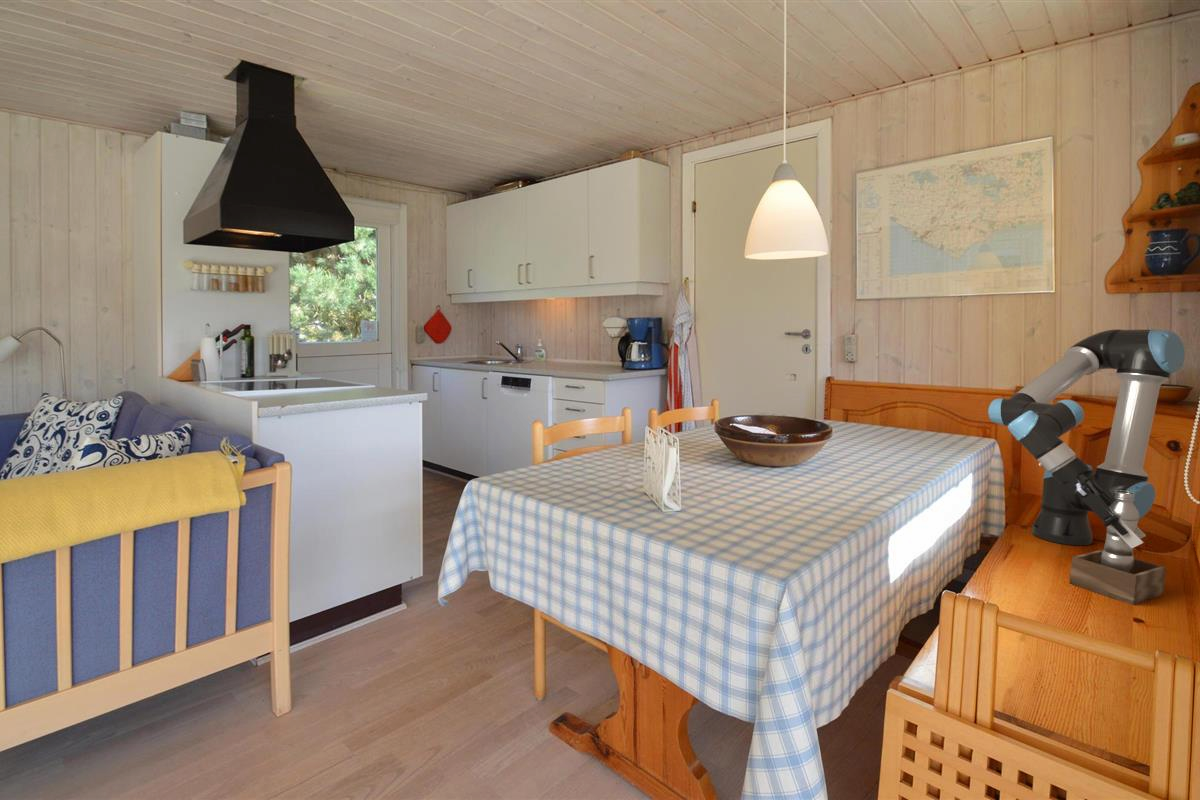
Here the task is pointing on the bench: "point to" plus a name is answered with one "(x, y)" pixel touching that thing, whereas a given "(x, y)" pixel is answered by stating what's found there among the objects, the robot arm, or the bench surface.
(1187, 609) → the bench surface
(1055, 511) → the robot arm
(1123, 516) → the plastic bottle
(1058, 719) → the bench surface
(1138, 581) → the walnut bottle box
